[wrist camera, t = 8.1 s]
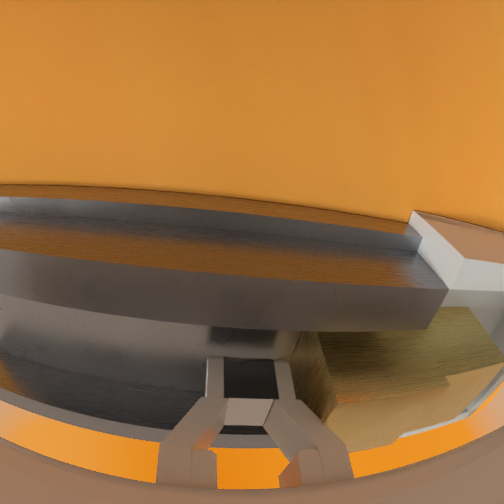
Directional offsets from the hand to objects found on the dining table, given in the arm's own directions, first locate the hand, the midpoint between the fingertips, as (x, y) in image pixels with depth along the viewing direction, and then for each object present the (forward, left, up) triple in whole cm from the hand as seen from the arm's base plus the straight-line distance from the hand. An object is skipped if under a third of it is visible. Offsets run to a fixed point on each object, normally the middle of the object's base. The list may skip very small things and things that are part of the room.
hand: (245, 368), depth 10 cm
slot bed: (-4, 0, -2) cm, 4 cm away
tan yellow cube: (+4, 0, -1) cm, 4 cm away
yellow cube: (+8, 0, -1) cm, 8 cm away
